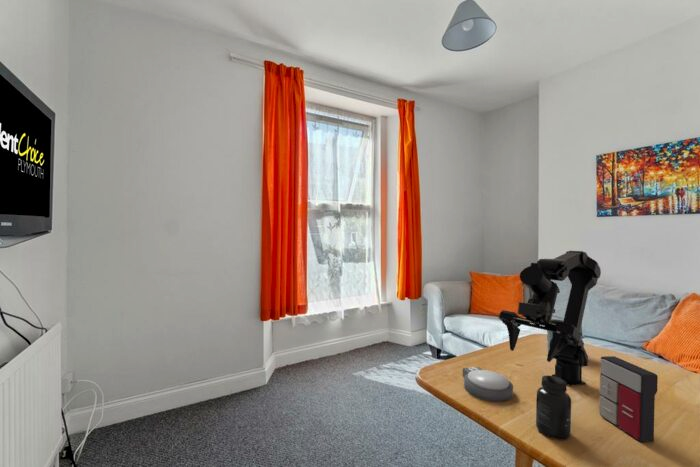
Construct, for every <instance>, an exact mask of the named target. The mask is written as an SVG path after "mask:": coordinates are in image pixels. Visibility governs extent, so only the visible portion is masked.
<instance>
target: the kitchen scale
mask: <svg viewBox="0 0 700 467" xmlns="http://www.w3.org/2000/svg"><path fill="white" fill-rule="evenodd" d="M462 377H463V380H464V381H463V388H464V389H465V392H467V393H468V394H470V395H471V396H473V397H475V398H477V399H480V400H483V401H488V402H496V403H497V402H498V403H499V402H500V403H502V402H508V401H510V400H511V399H513V396H514V385H513V383H512V382H511V381H510V380H509V379H508V378H507V377H506V376H505V375H503V374H500V373H498V372H495V371H491V370H486V369H485V370H484V369H482V368H481V367H479V366H478V367H477V366H476V367H473V366H472V367H469V366H468V367H463V368H462Z"/></svg>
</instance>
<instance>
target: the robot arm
mask: <svg viewBox="0 0 700 467" xmlns="http://www.w3.org/2000/svg"><path fill="white" fill-rule="evenodd" d="M601 272H602V271H601V267H600V265H599V263H598V262H597V261H596V260H595V259H593V258H592V257H590V256H588V254H587V252H584V251H583V250H567V251H566V252H565V253H563V254H561V255H559V256H557V257H555V258H540V259H538V260H537V261H536V262H530V265H528V266H527V267H525V268H523V269H522V271H520V274H519V280H520V281H521V282H522V284H523V285H524V286H525V287H526V288H527V289H528V290H529V292H531V293H532V295H531V298H528V299H527V302H523V301H518V308H517V313H516V312H515V311H509V310H504V309H503V310H501V311H500V312H499V314H498V317H497V318H498V319H499V320H500V321H501V323H502V324H504V325H505V326H506V328H507V333H508V340H509V349H510V351H512V352H514V350H515V348H516V345H517V342H518V339H519V336H520V333H521V328H519V327H521V326H525V327H529V328H530V327H531V328H534V329H538V330H543V331H546V332H547V331H551V332H553V337H552V339H551V341H550V349H549V352H548V351H547V358H546V361H547V362H549V363H551V362H552V360H553V359H555V361H556V362H555V364H554V368H555V369H554V374H552V375H551V376H555V377H558V378H561V379H563V380H565V381H566V386H580V385H583V386H584V385H585V386H586V385H587V382H585V381H583V380H582V379H583V378H582V373H583V367H588V365H589V355H588V354H587V351H586V349H585V347H584V346H585V342H584V340H583V338H582V336H581V327H582V323H583V317H584V314H585V309H586V304H587V301H588V300H587V299H588V297H589V296H588V295H589V291H590V290H591V289H593V288H594V287H595V286H596V285H597V283H598V280H599V279H600V277H601ZM566 278H568V280H569V282H570V285H571V287H570V291H569V296H568V299H567V304H566V308H565V313H564V317H563V320H564V321H563V322H559V321H558V322H557V323H556V325H554V324H552V323H551V319H553V314H555V313H556V308H555V306H556V301H557V297H558V294H559V293H560V292H561V291H560V288H559V286H558V283H556V282H554V281H559V282H564V280H566ZM519 315H521V316H523V317H521V316H519Z"/></svg>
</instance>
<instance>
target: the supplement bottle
mask: <svg viewBox="0 0 700 467" xmlns="http://www.w3.org/2000/svg"><path fill="white" fill-rule="evenodd" d="M540 384H541V386H540V387H538V389H537V390H536V398H535V400H536V404H535V405H536V406H535V413H536V414H535V425H536V426H535V427H536V428H537V430H538V432H540V433H541V434H543V435H545V436H547V437H548V438H552V439H554V440H562V441H563V440H564V441H565V440H567V439H569V438H570V437H571V435H572V434H571V432H572V431H571V430H572V429H571V428H572V398H571V396H570V395H569V394H568V392H567V391H568V390H567V385H566V381H565V380H563V379H561V378H558V377H555V376H552V375H548V374H547V375H543V376H542V377H541V383H540Z"/></svg>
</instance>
